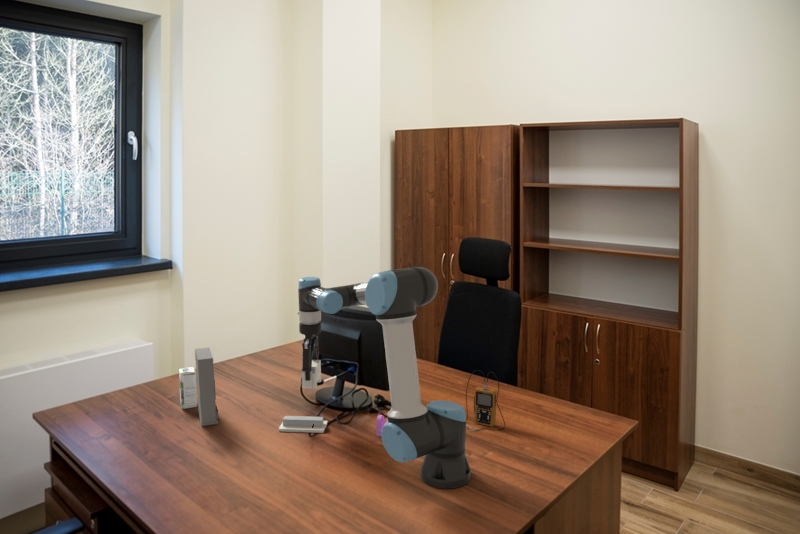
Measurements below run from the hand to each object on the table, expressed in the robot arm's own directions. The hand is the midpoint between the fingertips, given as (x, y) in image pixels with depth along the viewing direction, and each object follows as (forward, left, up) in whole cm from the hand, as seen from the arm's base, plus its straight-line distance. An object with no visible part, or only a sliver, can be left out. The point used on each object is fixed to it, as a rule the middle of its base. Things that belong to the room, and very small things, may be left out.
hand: (311, 383), depth 230 cm
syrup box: (+39, +38, -16) cm, 57 cm away
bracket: (-13, -25, -16) cm, 33 cm away
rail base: (+1, +3, -16) cm, 16 cm away
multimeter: (-25, -55, -16) cm, 63 cm away
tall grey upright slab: (+23, +33, -16) cm, 43 cm away
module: (0, 0, 0) cm, 0 cm away
